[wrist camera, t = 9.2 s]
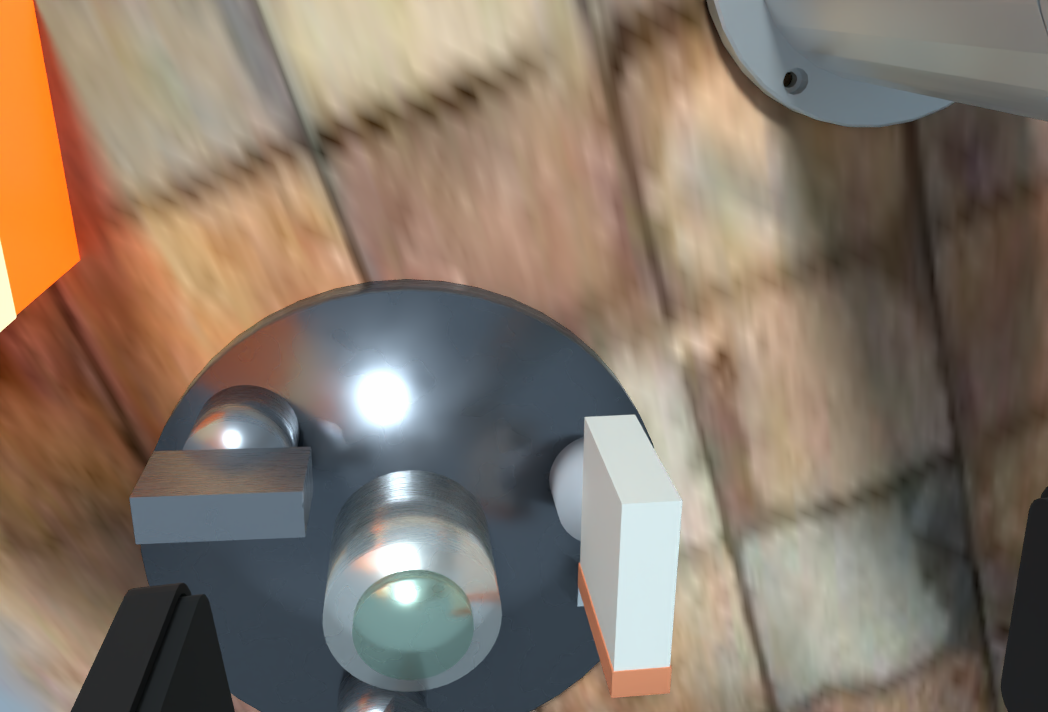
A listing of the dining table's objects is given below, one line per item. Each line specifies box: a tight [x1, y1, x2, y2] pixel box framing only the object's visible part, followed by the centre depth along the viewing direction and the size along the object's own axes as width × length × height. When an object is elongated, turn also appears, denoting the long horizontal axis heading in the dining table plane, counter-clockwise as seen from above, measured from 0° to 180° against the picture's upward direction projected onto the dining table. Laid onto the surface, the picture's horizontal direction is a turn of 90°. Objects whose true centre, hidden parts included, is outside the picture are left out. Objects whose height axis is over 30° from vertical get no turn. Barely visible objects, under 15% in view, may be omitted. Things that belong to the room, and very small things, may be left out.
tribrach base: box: [129, 279, 654, 712], centre depth 34 cm, size 20×20×8 cm
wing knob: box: [549, 415, 682, 698], centre depth 33 cm, size 7×4×8 cm, turn 0°
